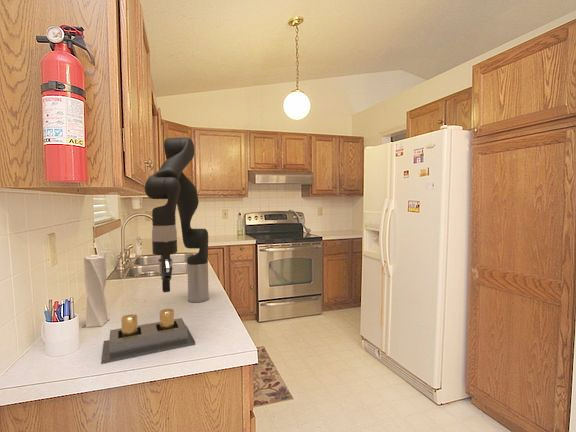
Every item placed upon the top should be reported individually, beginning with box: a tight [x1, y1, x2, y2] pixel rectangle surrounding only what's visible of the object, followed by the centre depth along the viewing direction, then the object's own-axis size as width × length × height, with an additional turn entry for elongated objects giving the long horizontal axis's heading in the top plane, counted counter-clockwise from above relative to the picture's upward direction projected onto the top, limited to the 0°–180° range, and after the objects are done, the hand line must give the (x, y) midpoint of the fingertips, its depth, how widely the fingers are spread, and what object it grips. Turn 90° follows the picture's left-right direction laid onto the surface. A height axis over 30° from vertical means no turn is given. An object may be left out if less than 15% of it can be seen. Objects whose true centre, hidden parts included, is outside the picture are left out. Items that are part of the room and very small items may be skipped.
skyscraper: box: [81, 250, 110, 329], centre depth 120 cm, size 8×8×28 cm
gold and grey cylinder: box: [159, 308, 175, 331], centre depth 105 cm, size 4×4×9 cm
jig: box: [101, 313, 196, 365], centre depth 103 cm, size 15×26×10 cm, turn 117°
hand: (166, 291), depth 105 cm, fingers closed
